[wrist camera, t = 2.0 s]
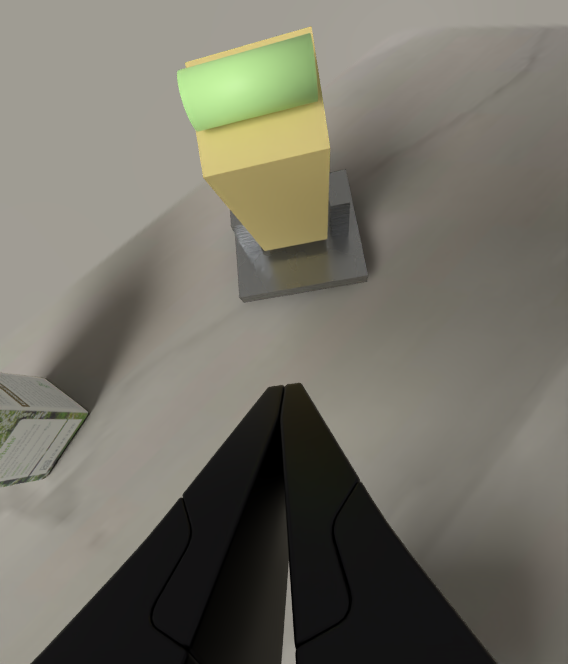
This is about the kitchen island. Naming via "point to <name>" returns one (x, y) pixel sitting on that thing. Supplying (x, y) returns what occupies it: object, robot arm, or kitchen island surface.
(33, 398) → the syrup box
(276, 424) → the robot arm
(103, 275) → the kitchen island surface
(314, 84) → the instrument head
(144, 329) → the kitchen island surface
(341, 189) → the base
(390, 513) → the kitchen island surface
